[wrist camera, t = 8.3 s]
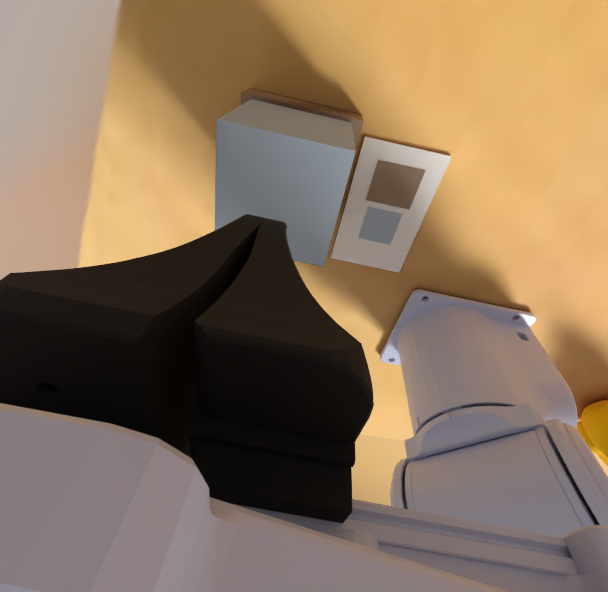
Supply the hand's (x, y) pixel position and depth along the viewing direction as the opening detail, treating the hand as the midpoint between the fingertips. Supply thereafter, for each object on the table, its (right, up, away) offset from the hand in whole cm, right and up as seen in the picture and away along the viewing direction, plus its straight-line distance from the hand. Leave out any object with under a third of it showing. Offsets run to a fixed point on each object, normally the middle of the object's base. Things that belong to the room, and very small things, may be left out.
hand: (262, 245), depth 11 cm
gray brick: (+1, +5, +6) cm, 8 cm away
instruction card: (+6, +4, +10) cm, 12 cm away
